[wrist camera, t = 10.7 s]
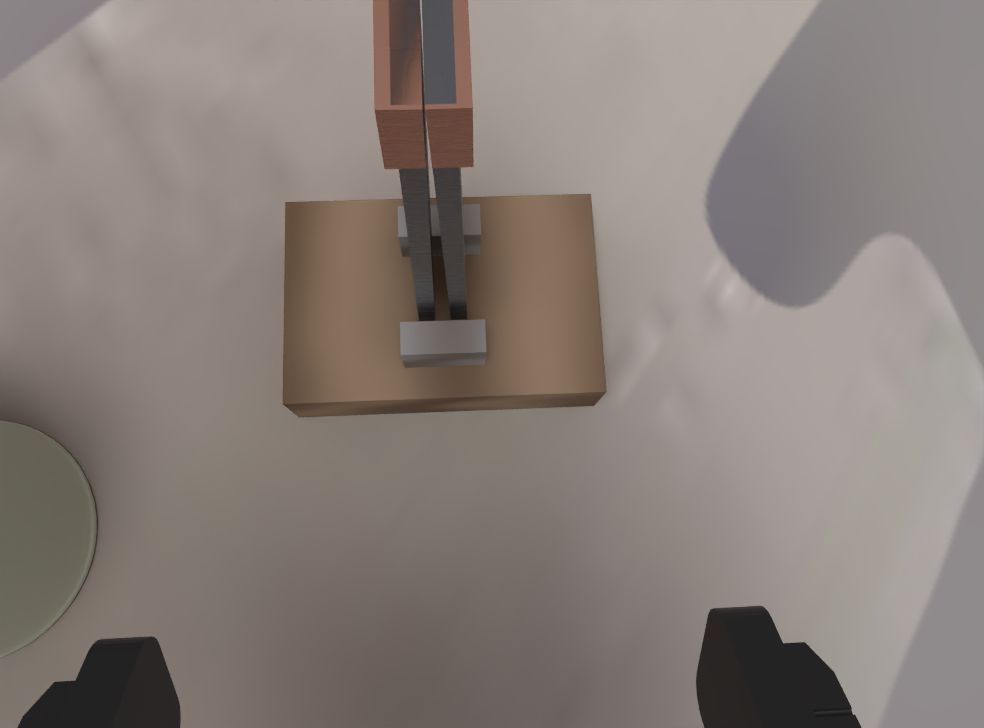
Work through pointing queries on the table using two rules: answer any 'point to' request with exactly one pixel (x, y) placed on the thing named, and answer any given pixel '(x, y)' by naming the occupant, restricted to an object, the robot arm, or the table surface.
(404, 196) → the bar
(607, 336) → the table surface
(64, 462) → the can
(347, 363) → the stand
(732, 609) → the robot arm
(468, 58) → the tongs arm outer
